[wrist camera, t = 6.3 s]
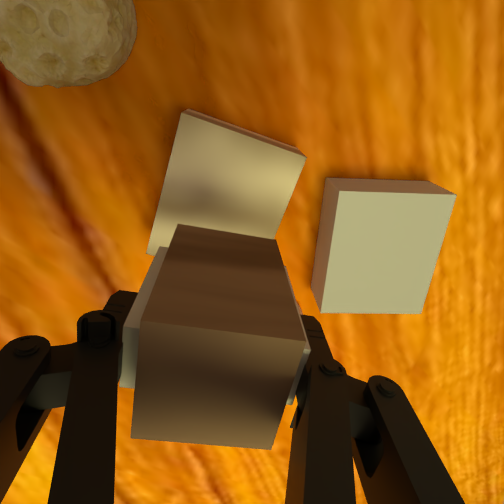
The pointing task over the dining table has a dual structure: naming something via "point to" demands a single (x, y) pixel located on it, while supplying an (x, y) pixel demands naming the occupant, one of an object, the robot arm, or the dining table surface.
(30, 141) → the dining table surface
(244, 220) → the pale oak block
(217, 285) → the walnut block
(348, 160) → the dining table surface
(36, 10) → the coral
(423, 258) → the grey painted block
